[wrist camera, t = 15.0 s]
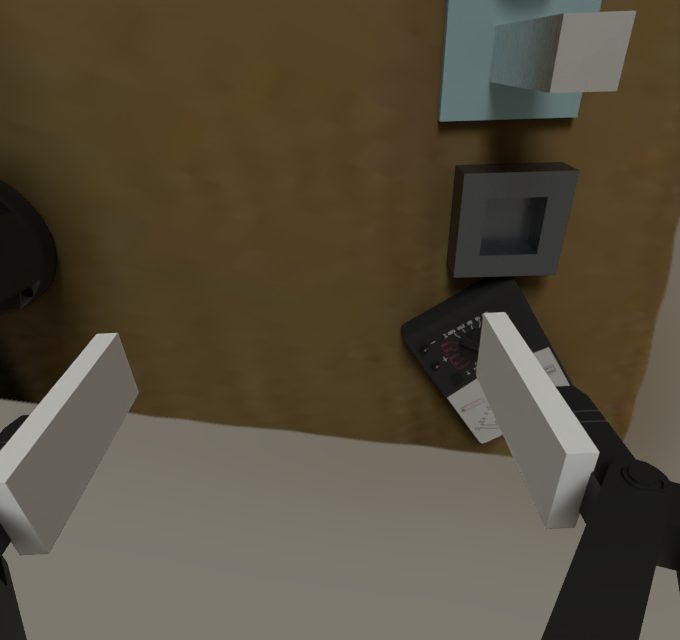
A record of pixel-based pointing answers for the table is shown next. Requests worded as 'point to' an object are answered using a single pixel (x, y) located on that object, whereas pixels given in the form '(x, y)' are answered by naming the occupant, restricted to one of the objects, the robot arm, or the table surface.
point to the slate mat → (476, 56)
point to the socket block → (509, 218)
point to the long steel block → (563, 52)
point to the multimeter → (474, 347)
